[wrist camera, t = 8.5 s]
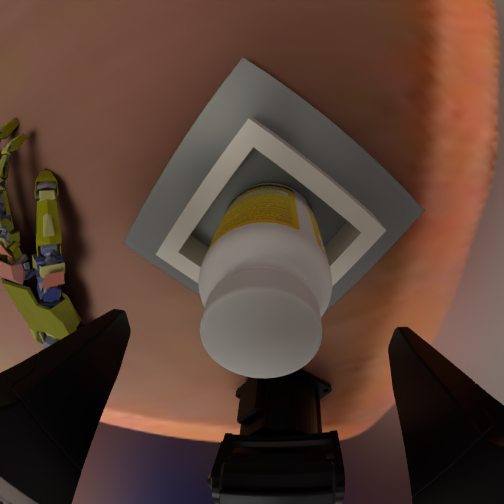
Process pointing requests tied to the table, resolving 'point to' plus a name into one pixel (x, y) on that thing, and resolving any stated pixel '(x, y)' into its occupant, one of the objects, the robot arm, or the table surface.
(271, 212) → the supplement bottle
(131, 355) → the table surface
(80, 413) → the robot arm
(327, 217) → the socket holder
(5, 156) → the robotic hand
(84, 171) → the table surface
